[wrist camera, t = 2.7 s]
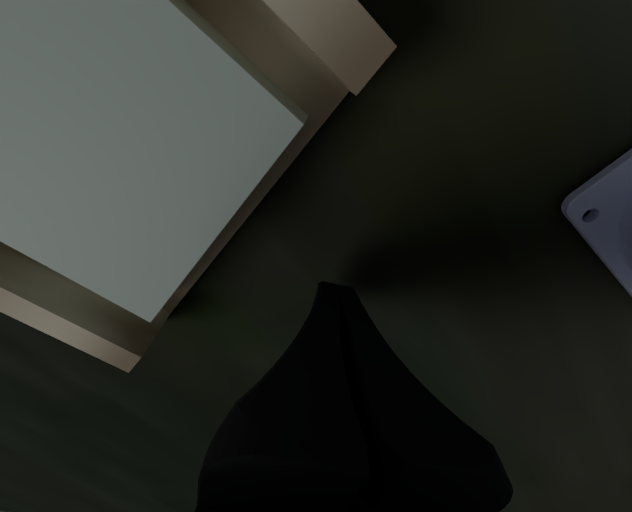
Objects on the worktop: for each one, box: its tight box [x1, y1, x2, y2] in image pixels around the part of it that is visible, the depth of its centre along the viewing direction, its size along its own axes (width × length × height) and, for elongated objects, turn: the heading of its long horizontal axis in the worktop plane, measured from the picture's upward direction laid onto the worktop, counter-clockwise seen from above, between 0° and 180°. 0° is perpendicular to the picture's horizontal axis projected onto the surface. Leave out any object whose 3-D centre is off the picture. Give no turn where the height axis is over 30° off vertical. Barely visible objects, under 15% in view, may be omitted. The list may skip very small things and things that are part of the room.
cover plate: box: [0, 0, 308, 322], centre depth 9 cm, size 9×9×2 cm
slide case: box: [0, 0, 397, 373], centre depth 8 cm, size 13×14×3 cm
